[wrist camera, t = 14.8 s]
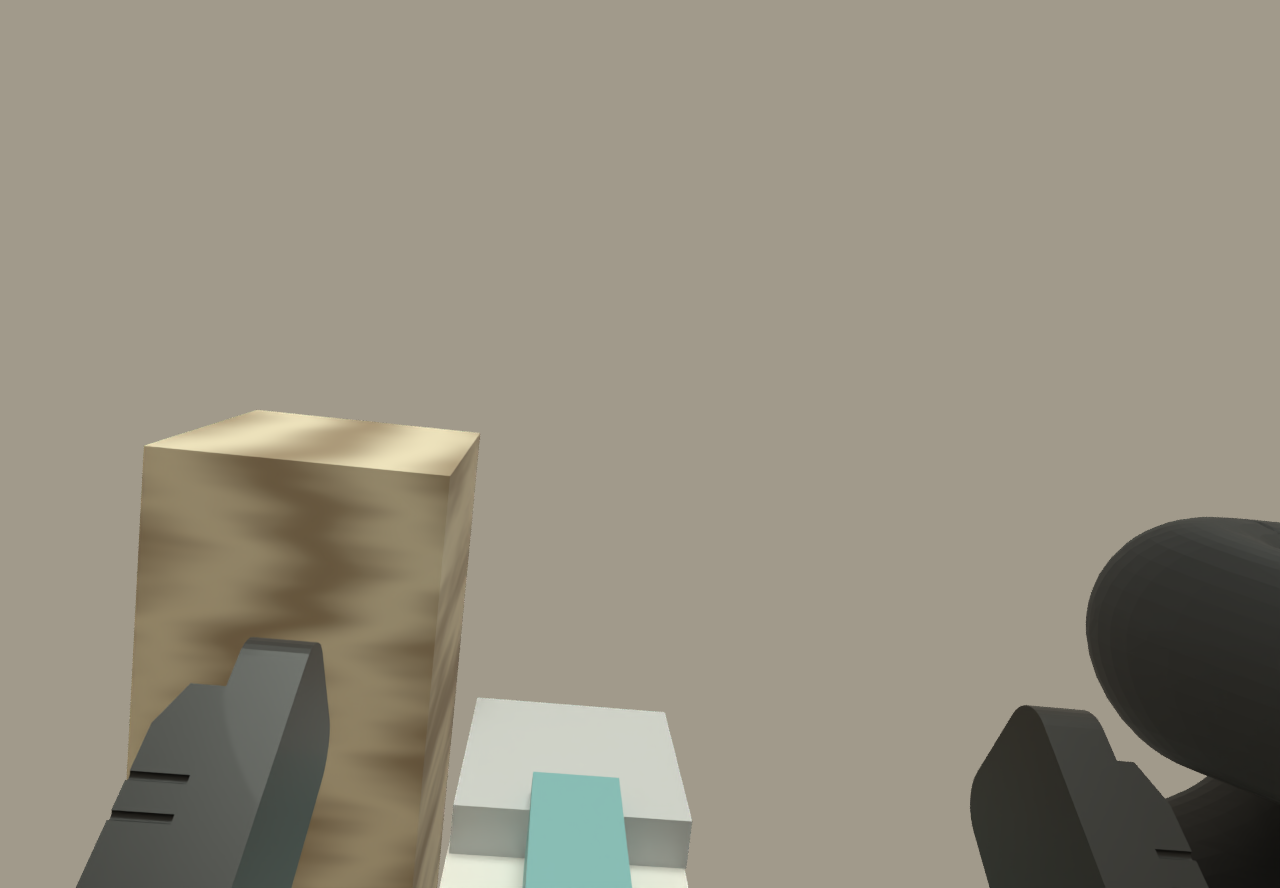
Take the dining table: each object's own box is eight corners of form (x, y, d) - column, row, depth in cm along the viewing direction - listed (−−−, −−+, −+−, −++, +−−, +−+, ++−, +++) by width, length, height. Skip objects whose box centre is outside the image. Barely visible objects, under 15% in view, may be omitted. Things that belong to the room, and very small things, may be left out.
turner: (660, 750, 37) (666, 694, 37) (769, 1249, 17) (786, 1137, 17) (473, 736, 36) (479, 679, 36) (366, 1238, 17) (377, 1121, 16)
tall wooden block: (420, 1065, 49) (480, 433, 45) (374, 1305, 37) (450, 476, 33) (214, 1056, 48) (257, 410, 44) (99, 1299, 36) (144, 445, 32)
